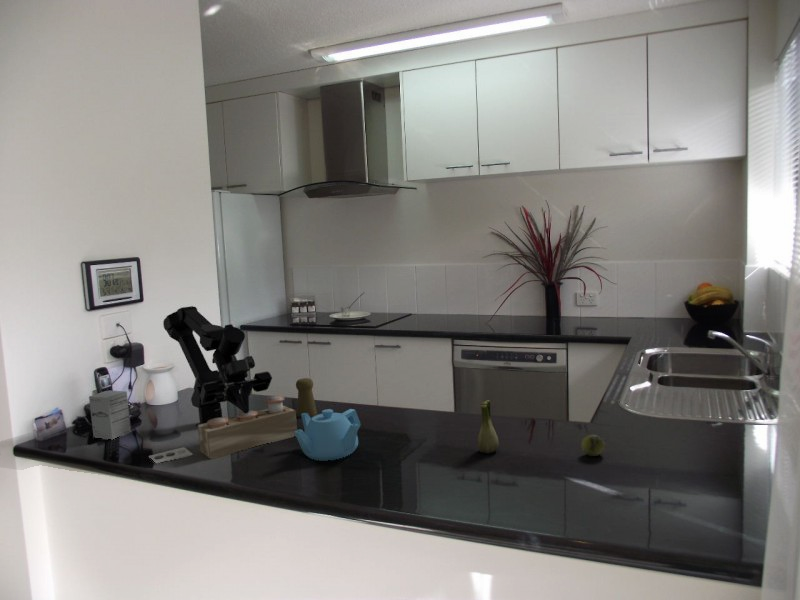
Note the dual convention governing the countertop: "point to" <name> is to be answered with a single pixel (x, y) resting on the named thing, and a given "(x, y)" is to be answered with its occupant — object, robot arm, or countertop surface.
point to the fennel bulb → (487, 431)
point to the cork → (305, 397)
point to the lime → (593, 445)
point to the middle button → (247, 415)
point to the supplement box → (110, 414)
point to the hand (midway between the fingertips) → (247, 412)
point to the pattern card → (170, 455)
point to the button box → (247, 432)
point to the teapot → (329, 435)
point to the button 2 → (275, 404)
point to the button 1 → (217, 422)
